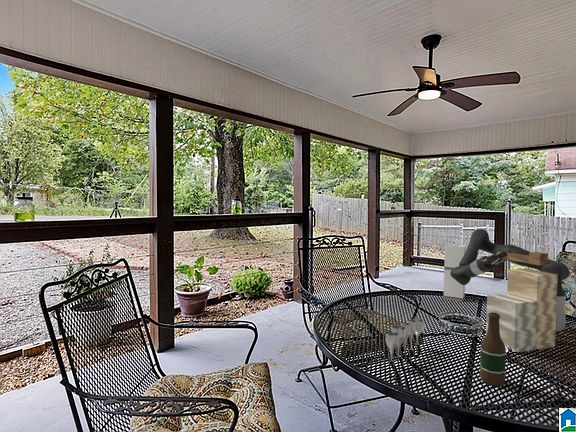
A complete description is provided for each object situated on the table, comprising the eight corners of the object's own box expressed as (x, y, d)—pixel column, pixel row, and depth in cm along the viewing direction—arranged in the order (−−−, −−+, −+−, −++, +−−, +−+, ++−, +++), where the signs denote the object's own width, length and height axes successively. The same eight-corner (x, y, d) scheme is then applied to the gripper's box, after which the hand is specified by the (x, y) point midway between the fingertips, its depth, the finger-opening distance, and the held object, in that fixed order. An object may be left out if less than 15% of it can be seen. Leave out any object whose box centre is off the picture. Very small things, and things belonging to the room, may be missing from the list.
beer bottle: (474, 375, 128) (476, 310, 127) (495, 375, 129) (497, 309, 128) (488, 387, 121) (490, 317, 120) (510, 386, 121) (512, 316, 120)
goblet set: (395, 369, 133) (396, 334, 133) (381, 364, 137) (382, 330, 137) (426, 347, 153) (427, 317, 153) (413, 344, 157) (414, 314, 157)
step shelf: (524, 335, 169) (526, 268, 168) (554, 346, 156) (557, 274, 155) (485, 340, 161) (487, 271, 160) (514, 353, 148) (516, 277, 147)
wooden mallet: (503, 257, 176) (503, 247, 176) (547, 265, 155) (548, 253, 155) (495, 257, 174) (495, 247, 174) (539, 265, 153) (540, 254, 153)
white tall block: (464, 297, 236) (466, 245, 235) (462, 301, 227) (464, 247, 226) (446, 295, 242) (447, 244, 241) (443, 298, 233) (444, 245, 232)
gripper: (495, 271, 185) (522, 259, 171) (474, 273, 181) (500, 261, 166) (489, 258, 189) (516, 245, 174) (468, 259, 184) (494, 246, 170)
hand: (508, 253), depth 170 cm, fingers closed on wooden mallet, 3 cm apart
